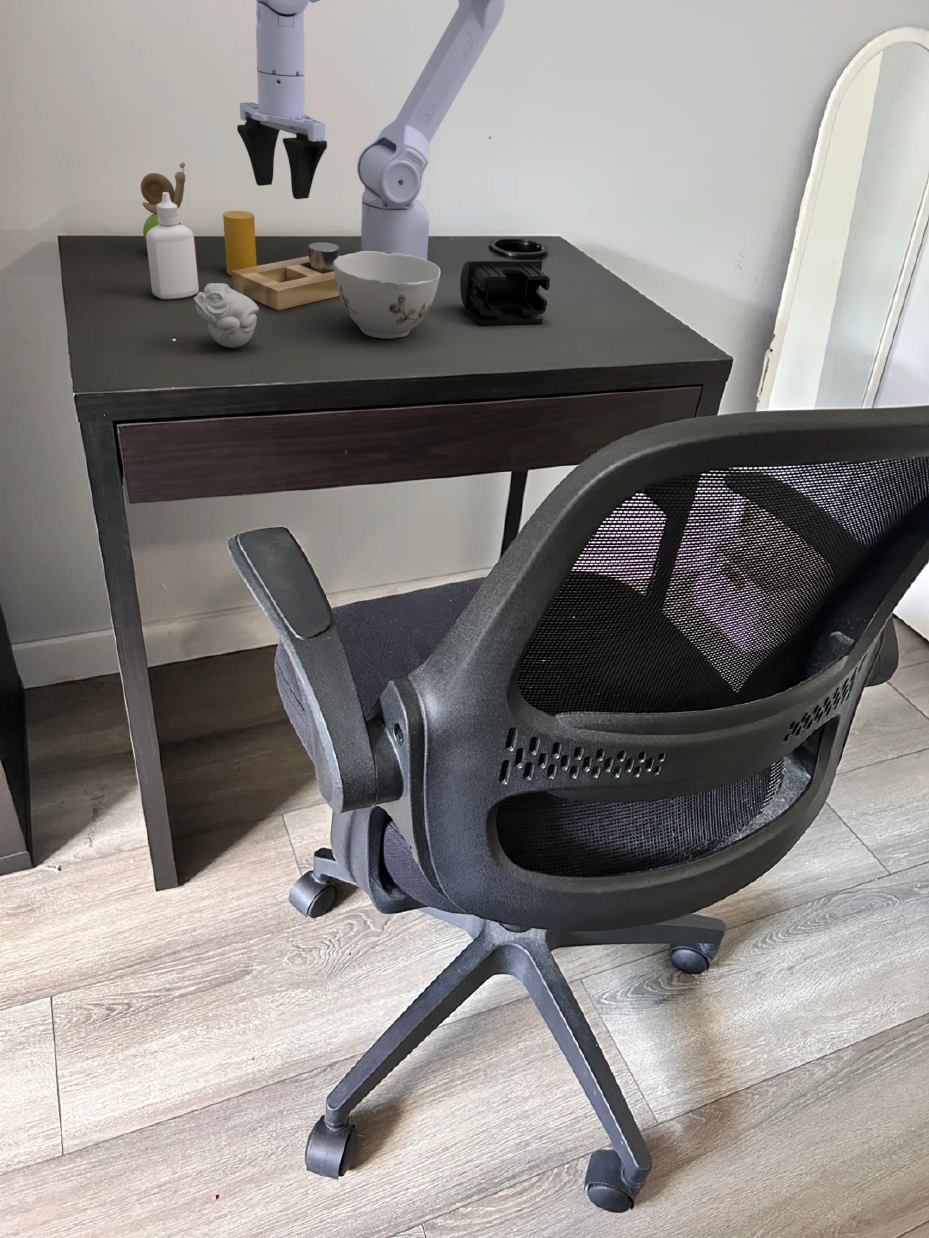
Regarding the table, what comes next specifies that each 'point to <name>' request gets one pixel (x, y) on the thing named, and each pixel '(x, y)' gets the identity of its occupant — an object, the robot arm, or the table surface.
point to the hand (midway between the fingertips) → (282, 191)
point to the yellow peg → (239, 240)
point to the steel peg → (322, 257)
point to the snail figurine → (160, 194)
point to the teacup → (386, 290)
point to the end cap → (504, 291)
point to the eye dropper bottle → (171, 254)
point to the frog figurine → (227, 314)
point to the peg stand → (285, 283)
